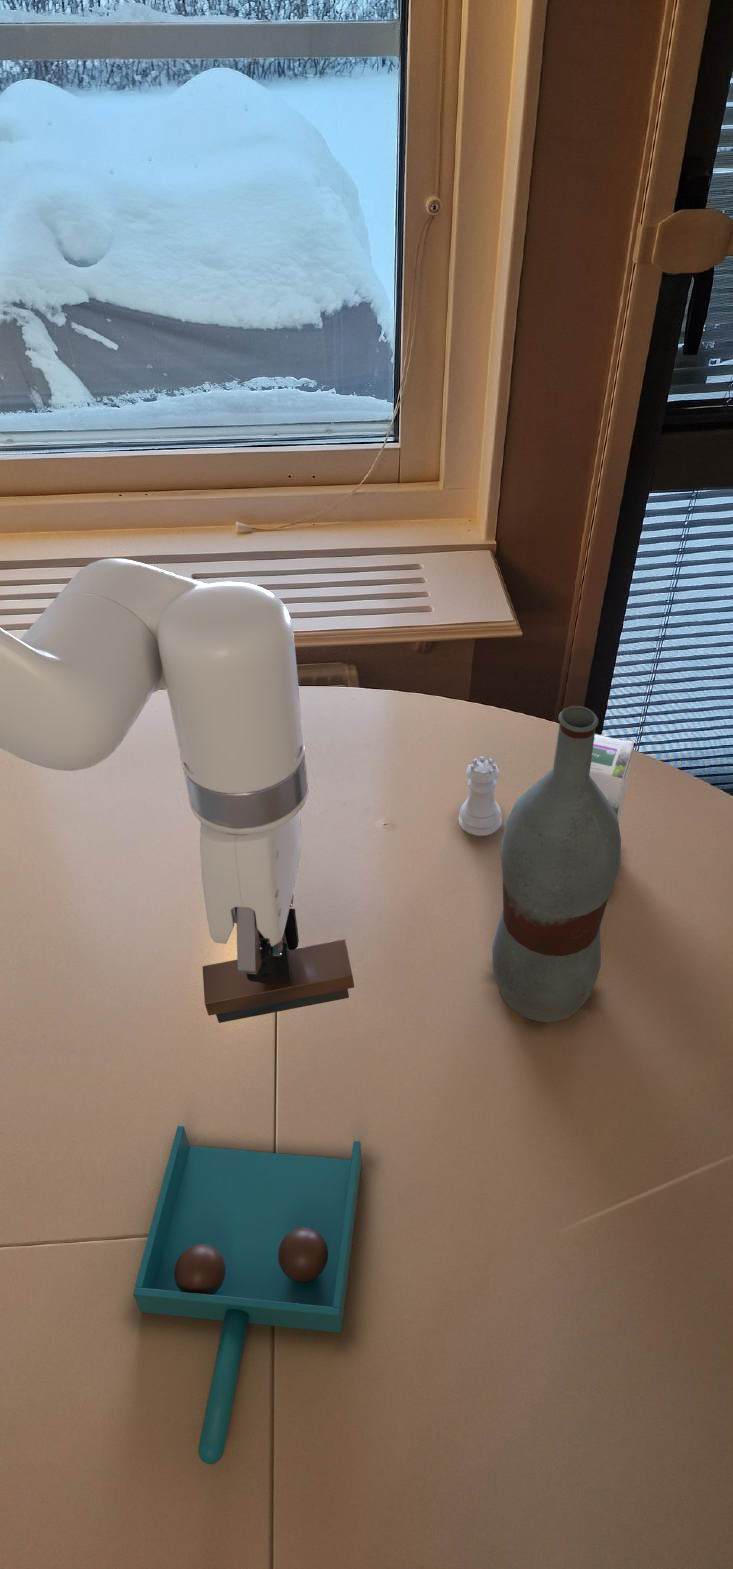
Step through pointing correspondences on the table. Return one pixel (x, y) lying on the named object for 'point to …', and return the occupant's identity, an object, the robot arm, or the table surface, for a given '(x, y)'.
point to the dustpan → (248, 1250)
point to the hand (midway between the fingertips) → (273, 960)
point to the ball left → (200, 1270)
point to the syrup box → (611, 768)
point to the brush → (312, 982)
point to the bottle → (556, 881)
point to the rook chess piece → (481, 799)
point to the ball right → (303, 1254)
